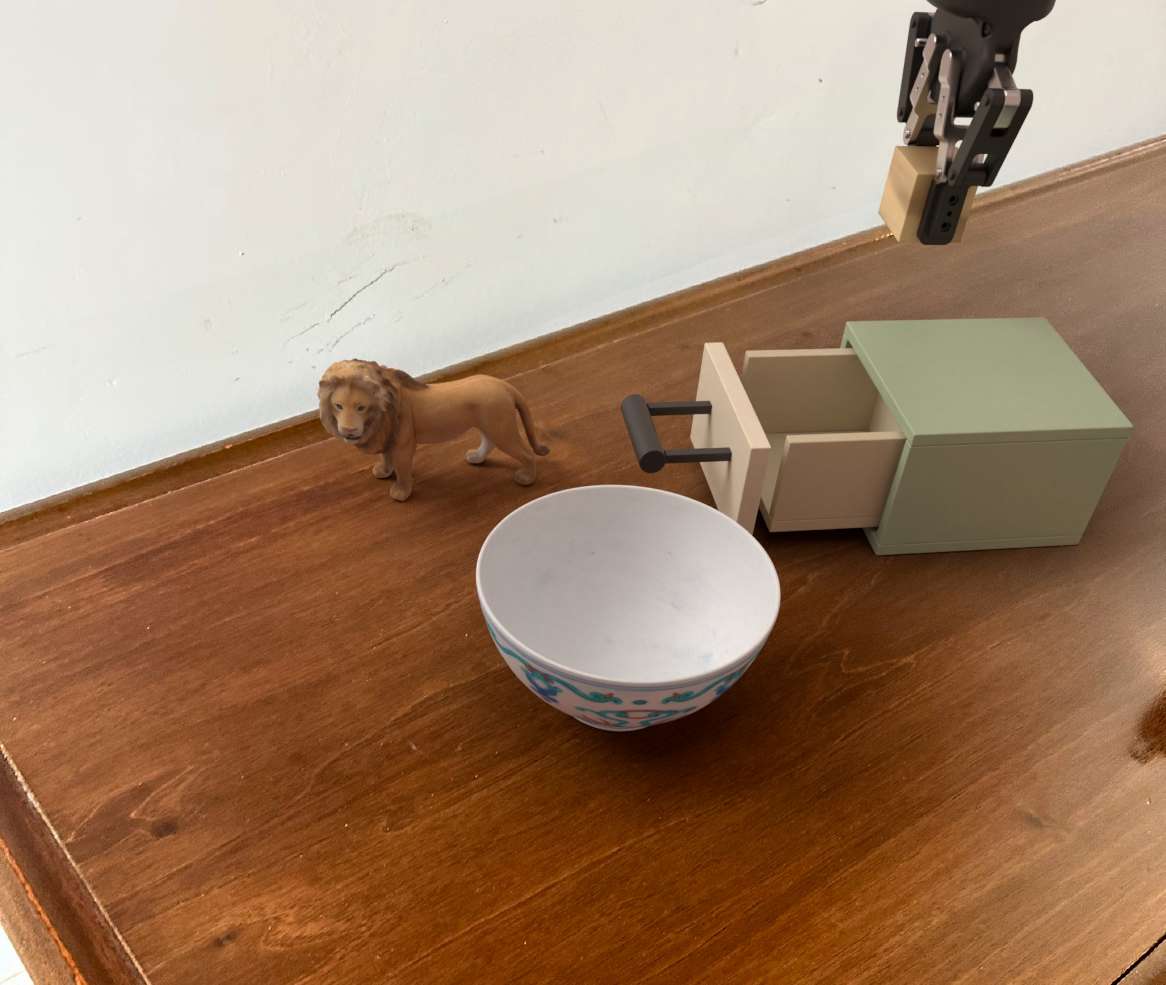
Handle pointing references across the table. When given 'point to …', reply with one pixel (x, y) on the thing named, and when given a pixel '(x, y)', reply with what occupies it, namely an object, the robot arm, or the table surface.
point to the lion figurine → (422, 417)
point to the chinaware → (626, 602)
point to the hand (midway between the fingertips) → (920, 223)
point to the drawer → (782, 438)
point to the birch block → (914, 192)
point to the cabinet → (988, 433)
